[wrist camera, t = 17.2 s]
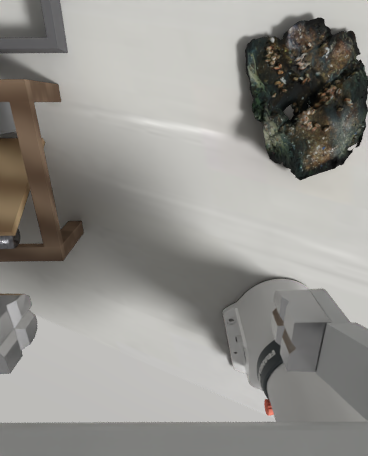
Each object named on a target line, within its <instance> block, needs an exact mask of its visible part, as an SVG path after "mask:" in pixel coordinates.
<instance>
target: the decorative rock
mask: <svg viewBox="0 0 368 456" xmlns="http://www.w3.org/2000/svg"><path fill="white" fill-rule="evenodd" d="M330 31H331V30H330V29H329V28H328V27H326V26H325V24H324V19H322V18H316V19H313V20H311V21H305V20H304V21H300V22H298V23H296V24H295V25H294V26H292V27H291V28H290V29H289V30H288V31H287V32H286V33H285V34H284V36H283V39H282V40H280V39H279V38H277V37H271V38H269V37H262V38H259V39H256V40H255V39H253V40H251V42H250V43H248V45H247V48H246V50H245V52H246V71H247V75H248V77H249V79H250V90H251V93H252V96H253V104H252V111H253V113H254V116H255V119H257V120H258V121H260V122H262V124H263V132H264V138H265V144H266V149H267V152H268V155H269V158H270V159H271V160H272V161H273V162H275V163H278V164H280V163H281V162H283V164H284V166H285V167H286V168H289V169H291V172H292V173H293V174H294V175H295V176H296V177H295V178H298V179H299V180H302V179H305V178H306V177H309V176H313V175H316V174H318V173H322V172H325V171H328V170H331V169H335V168H336V167H337V166H339V165H343V164H344V162H345V160H346V159H347V158H348V156H349V155H350V154H351V153H352V150H351V151H348V150H347V149H348V148H349V147H351V146H352V145H354V144H356V143H357V142H359V143H358V145H357V146H356V147H358V146H359V145H360V142H361V140H362V136H363V132H364V130H365V128H366V121H365V119H366V115H367V112H368V108H367V105H366V100H367V94H368V91H367V88H368V76H366V72H365V67H364V65H363V63H362V61H361V60H359V61H360V63H359V61H358V60H357V59H356V56H357V55H360V52H359V49H358V47H357V43H356V37H355V34H354V32H353V31H348V32H344V31H341V32H339V33H337V34H335V35H332V34H331V32H330ZM307 103H308V104H307ZM291 104H292V108H293V109H294V112H293V113H294V117H293V118H292V119H291V120H289V119H288V117H287V116H286V115H285V114H284V113H283V111H284V110H285V109H286V108H287V107H288V106H289V105H291ZM308 105H310V106H311V107H310V108H308ZM356 147H355V148H356Z"/></svg>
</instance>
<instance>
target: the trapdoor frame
mask: <svg viewBox="0 0 368 456" xmlns="http://www.w3.org/2000/svg"><path fill="white" fill-rule="evenodd" d="M0 102H9V103H10V107H11V111H12V115H13V120H14V124H15V128H16V132H17V136H18V140H19V145H20V149H21V153H22V157H23V161H24V165H25V170H26V174H27V178H28V182H29V186H30V190H31V194H32V199H33V203H34V207H35V211H36V215H37V219H38V224H39V228H40V232H41V236H42V240H43V244H19V245H18V246H17V247H16V248H15V249H0V262H9V261H63V260H64V259H65V258H66V256H67V255H68V253H69V252H70V251H71V249H72V248H73V247H74V245H75V244H76V243H77V241H78V240H79V239H80V237H81V236H82V235H83V233H84V232H83V226H82V221H68V222H67V223H66V225H65V226H64V227H63V228H62V229H61V230H60V225H59V221H58V216H57V211H56V206H55V201H54V196H53V192H52V187H51V182H50V177H49V172H48V168H47V163H46V158H45V153H44V148H43V144H42V139H41V134H40V129H39V124H38V119H37V115H36V110H35V105H34V102H61V97H60V92H59V86H58V84H52V83H46V82H39V81H33V80H26V79H0Z"/></svg>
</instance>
